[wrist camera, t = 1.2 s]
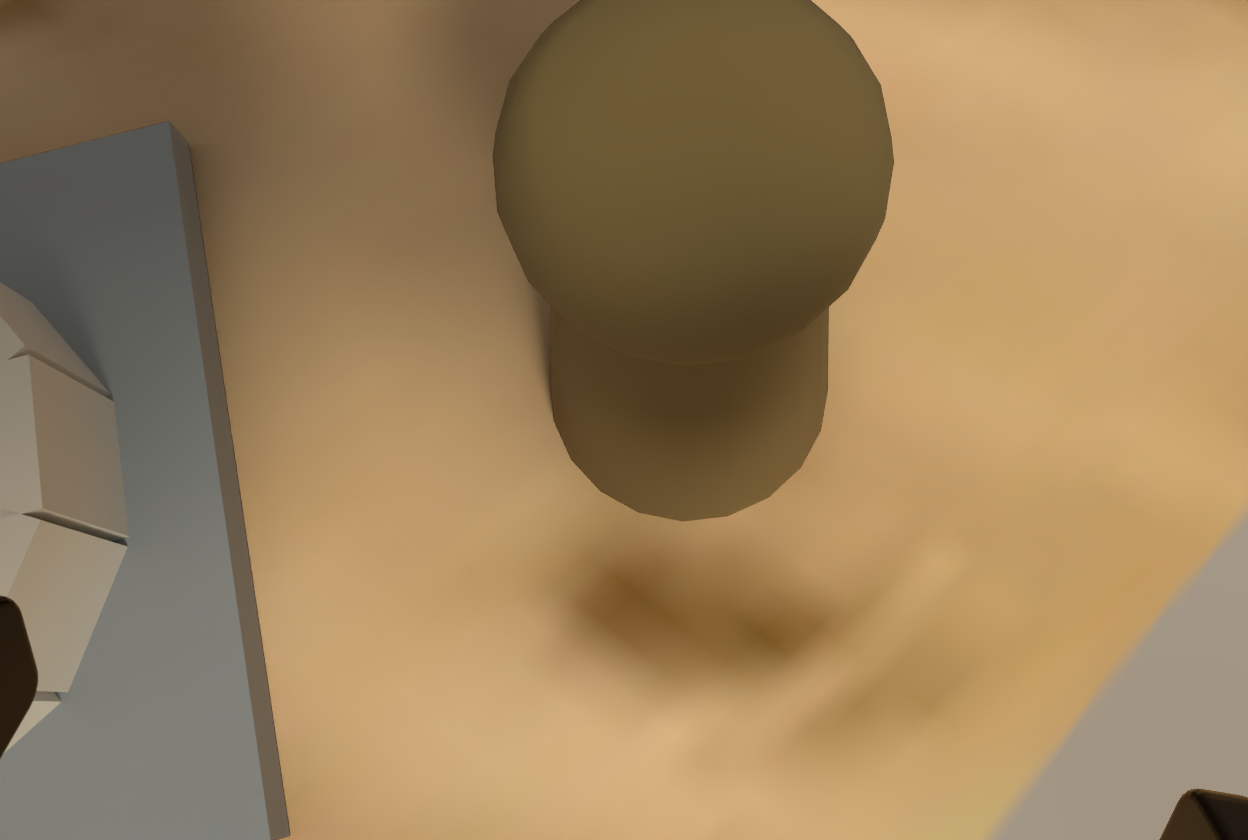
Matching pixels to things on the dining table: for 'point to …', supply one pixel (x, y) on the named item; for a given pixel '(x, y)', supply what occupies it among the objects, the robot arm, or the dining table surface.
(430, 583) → the dining table surface
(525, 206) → the cork
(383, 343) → the dining table surface
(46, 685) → the mount
